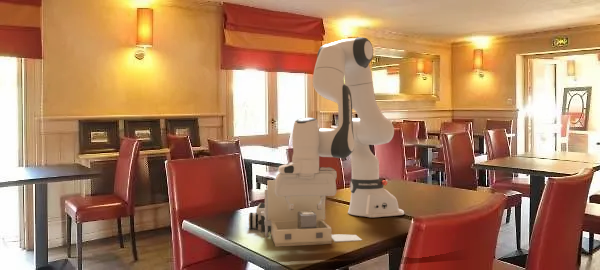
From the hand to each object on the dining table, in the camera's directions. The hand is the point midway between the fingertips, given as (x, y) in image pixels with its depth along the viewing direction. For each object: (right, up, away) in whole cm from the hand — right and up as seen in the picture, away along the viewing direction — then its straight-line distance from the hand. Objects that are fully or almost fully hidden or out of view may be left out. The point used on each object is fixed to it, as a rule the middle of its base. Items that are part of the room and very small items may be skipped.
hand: (305, 209), depth 150 cm
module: (+1, -9, 0) cm, 9 cm away
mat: (+13, -10, +3) cm, 17 cm away
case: (-2, -10, +2) cm, 10 cm away
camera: (-16, -10, +19) cm, 27 cm away
